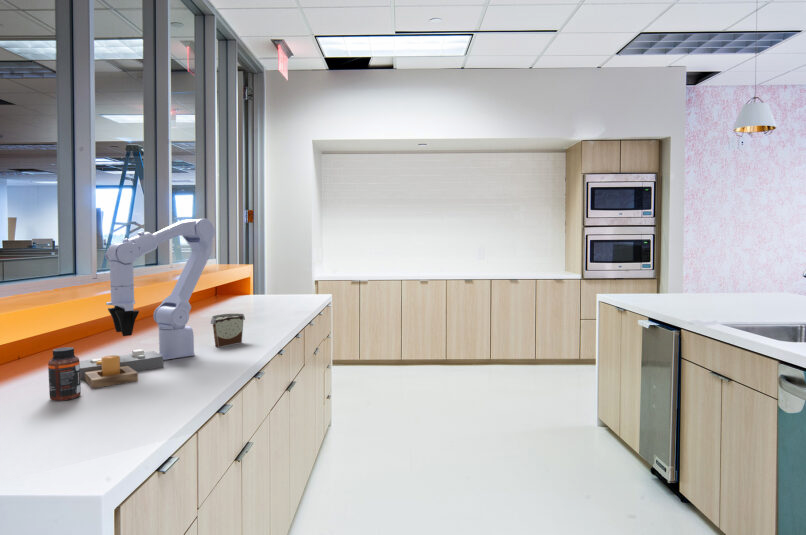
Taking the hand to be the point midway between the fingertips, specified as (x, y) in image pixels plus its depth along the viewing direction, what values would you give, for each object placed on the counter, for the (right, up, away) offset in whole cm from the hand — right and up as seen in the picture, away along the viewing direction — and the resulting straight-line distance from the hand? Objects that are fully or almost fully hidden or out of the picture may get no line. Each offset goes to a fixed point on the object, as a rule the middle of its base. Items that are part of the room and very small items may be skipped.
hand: (123, 333), depth 141 cm
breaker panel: (0, -10, -3) cm, 10 cm away
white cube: (-4, -9, -6) cm, 11 cm away
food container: (+17, -8, +31) cm, 36 cm away
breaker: (+4, -7, +1) cm, 8 cm away
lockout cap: (+4, -10, -13) cm, 17 cm away
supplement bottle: (+2, -11, -27) cm, 29 cm away
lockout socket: (+4, -10, -13) cm, 17 cm away
